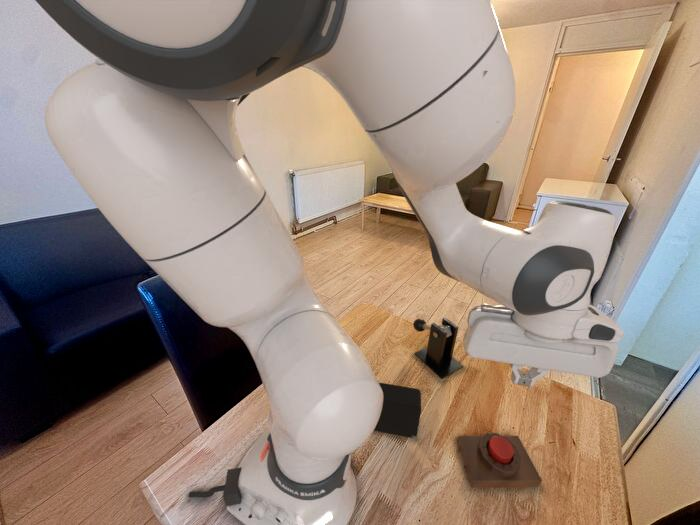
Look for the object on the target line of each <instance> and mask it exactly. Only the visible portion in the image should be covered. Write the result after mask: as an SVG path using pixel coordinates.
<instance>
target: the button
mask: <svg viewBox="0 0 700 525" xmlns="http://www.w3.org/2000/svg"><path fill="white" fill-rule="evenodd" d="M488 452H489V454H490V455H491V457H492V458H493V459H494V460H496V461H497V462H499V463H502V464H507V463H509V462H510V461H511V459H512V457H513V454H514V450H513V447H512V445H511V444H510V443H509V442H508V441H507V440H506V439H504V438H502V437H500V436H494V437H492V438H491V439H490V441H489V444H488Z"/></svg>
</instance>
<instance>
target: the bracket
mask: <svg viewBox="0 0 700 525" xmlns="http://www.w3.org/2000/svg"><path fill="white" fill-rule="evenodd" d="M441 324H443V325H448V326H450V328H451V333H452V335H451V336H449V337H447V338H446V336H447V332H446V331H445V330H443V329H442V328H441V327H439V325H438V324H437V323H436V322H432V323H430V325H431V329H430V330H429V336H428V342H427V346H426V347H424V348H422V349H420V350H418V351H416V352H414V356H416V357H417V358H418V359H419V360H420V361H421V363H423V364H424V365H425V366H426V367H428V368H429V369H430V370H431V371H432V372H433V373H434V374H435V375H436V376H437V377H438V378H439V379H440V380H443V379H445V378H447V377H449V376H450V375H452V374H453V373H456V372H457V371H459V370H461V369H462V368H464V365H463V364H461V362H460V361H458V360H457V359H456V358H454V357H453V355H454V349H455V346H456V342H457V341H456V340H457V336H458V332H459V329H460V328H459V325H457V324H455V323H454V322H452V321H451V320H450V319H449V318H446V317H443V318H442V320H441Z"/></svg>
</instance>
